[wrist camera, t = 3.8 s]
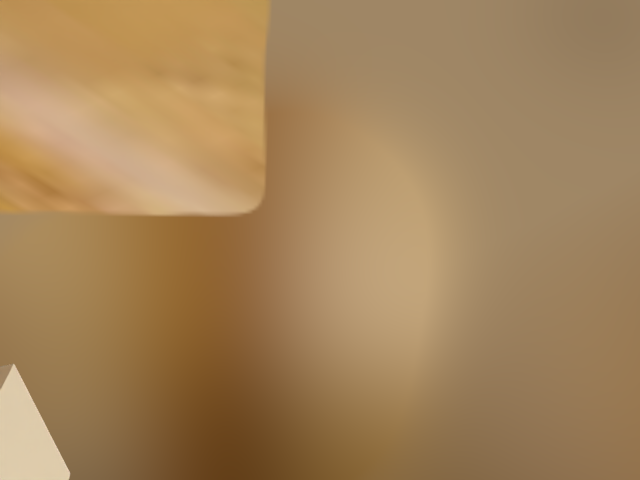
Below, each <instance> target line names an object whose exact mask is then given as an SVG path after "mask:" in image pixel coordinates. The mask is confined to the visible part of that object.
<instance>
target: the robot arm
mask: <svg viewBox="0 0 640 480" xmlns="http://www.w3.org/2000/svg"><path fill="white" fill-rule="evenodd" d="M69 476H70V472H69V470H68V468H67V466H66V464H65V462H64V460H63V458H62V457H61V455H60V453H59V451H58V449H57V447H56V445H55V443H54V441H53V439H52V437H51V435H50V433H49V431H48V429H47V427H46V425H45V424H44V421H43V419H42V418H41V416H40V414H39V412H38V410H37V408H36V406H35V404H34V402H33V400H32V398H31V396H30V394H29V392H28V390H27V388H26V386H25V384H24V382H23V380H22V378H21V377H20V375H19V373H18V371H17V369H16V367H15V365H14V364H11V365H6V366H1V367H0V480H69Z"/></svg>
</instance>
